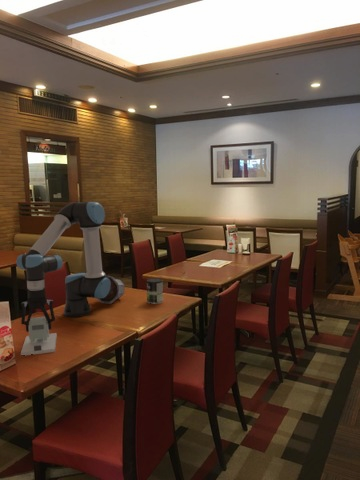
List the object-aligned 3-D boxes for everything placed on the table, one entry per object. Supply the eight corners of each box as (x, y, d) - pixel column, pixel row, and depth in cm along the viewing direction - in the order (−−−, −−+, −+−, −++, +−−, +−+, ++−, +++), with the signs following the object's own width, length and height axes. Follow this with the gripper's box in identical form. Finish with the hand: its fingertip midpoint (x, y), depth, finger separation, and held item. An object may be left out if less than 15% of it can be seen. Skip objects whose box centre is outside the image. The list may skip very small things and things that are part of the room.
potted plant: (105, 274, 261) (80, 273, 233) (129, 277, 255) (107, 276, 227) (102, 301, 259) (77, 302, 231) (126, 304, 254) (103, 306, 225)
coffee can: (149, 304, 241) (148, 282, 239) (145, 300, 251) (144, 278, 249) (165, 302, 244) (164, 281, 242) (161, 298, 254) (160, 277, 252)
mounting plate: (56, 335, 191) (56, 329, 191) (54, 351, 172) (54, 344, 172) (26, 339, 188) (26, 332, 187) (21, 355, 169) (20, 348, 168)
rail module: (48, 334, 184) (46, 316, 183) (46, 340, 177) (45, 321, 176) (32, 336, 182) (31, 317, 181) (30, 342, 175) (29, 322, 174)
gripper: (11, 292, 170) (15, 342, 173) (58, 288, 175) (61, 337, 178) (14, 288, 178) (17, 336, 181) (59, 285, 183) (62, 332, 186)
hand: (39, 337), depth 179 cm, fingers closed on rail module, 7 cm apart
